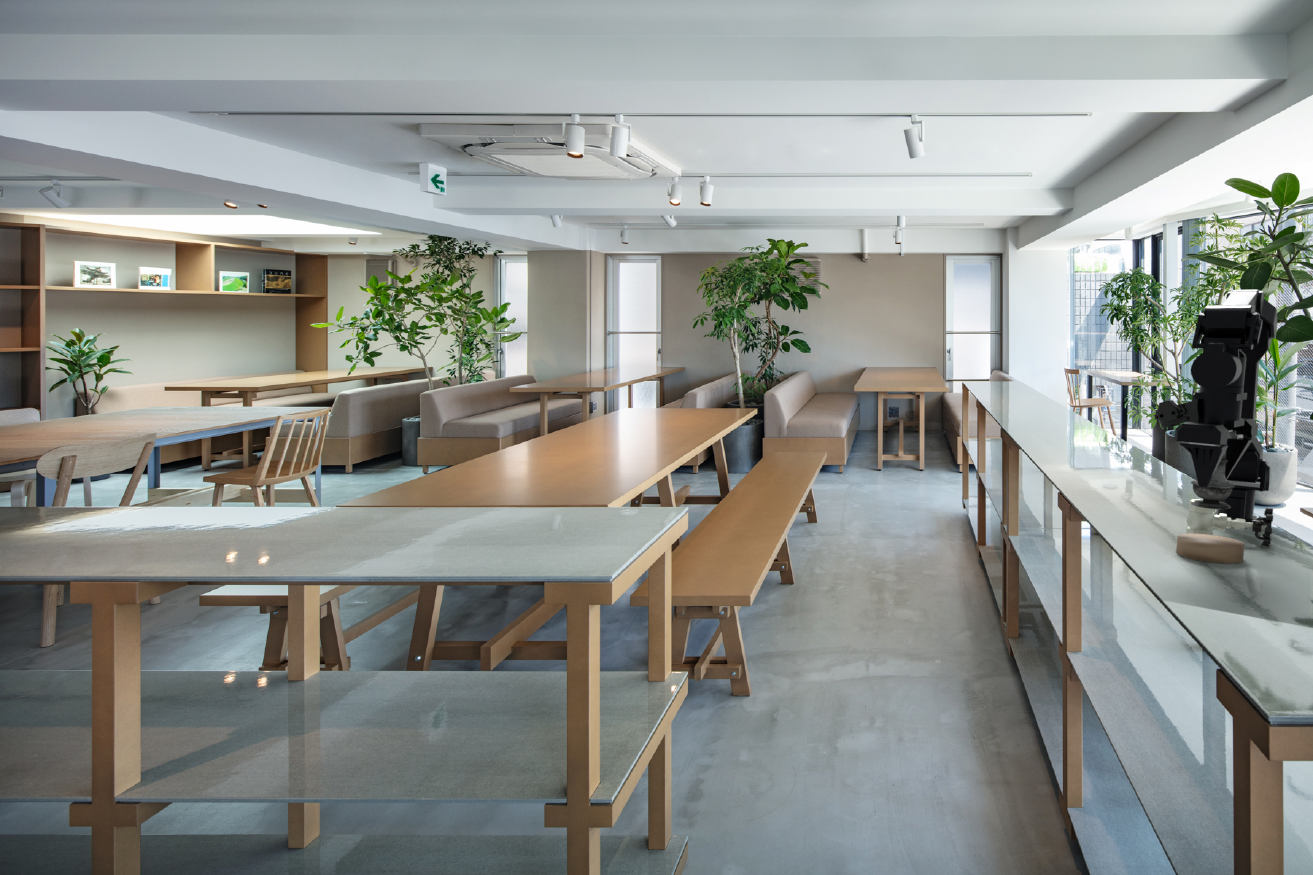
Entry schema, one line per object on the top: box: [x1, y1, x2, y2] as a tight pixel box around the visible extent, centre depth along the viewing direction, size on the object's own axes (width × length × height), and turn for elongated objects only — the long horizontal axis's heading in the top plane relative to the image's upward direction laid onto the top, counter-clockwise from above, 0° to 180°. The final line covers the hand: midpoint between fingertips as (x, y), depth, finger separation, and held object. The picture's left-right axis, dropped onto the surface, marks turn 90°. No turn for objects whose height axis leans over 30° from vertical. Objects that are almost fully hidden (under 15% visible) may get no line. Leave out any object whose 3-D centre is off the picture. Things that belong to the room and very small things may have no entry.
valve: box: [1186, 498, 1274, 548], centre depth 143 cm, size 7×7×12 cm
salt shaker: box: [1190, 442, 1235, 510], centre depth 133 cm, size 6×6×12 cm
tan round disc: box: [1175, 533, 1245, 565], centre depth 134 cm, size 9×9×2 cm
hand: (1212, 483), depth 134 cm, fingers closed on salt shaker, 8 cm apart
